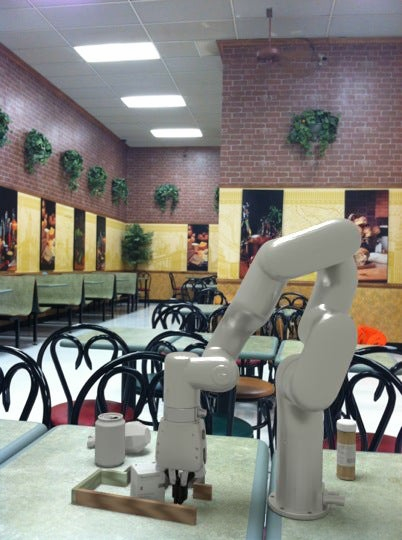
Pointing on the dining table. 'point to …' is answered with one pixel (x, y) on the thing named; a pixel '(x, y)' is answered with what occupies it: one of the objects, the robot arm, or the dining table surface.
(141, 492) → the skincare box
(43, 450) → the dining table surface
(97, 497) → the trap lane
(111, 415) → the can
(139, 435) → the chicken leg
